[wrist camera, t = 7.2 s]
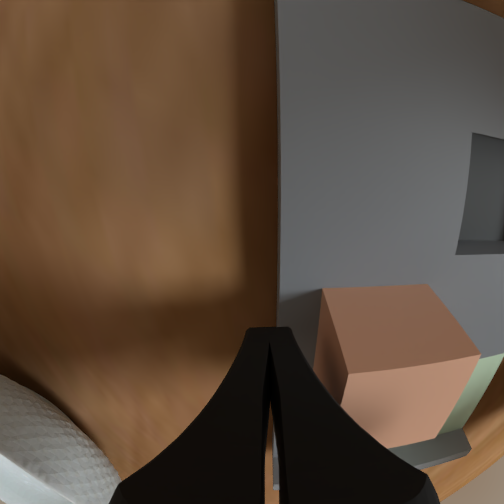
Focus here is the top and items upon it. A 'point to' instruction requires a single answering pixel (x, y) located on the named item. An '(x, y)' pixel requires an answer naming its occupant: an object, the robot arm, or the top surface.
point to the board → (393, 171)
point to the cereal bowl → (48, 454)
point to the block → (393, 359)
